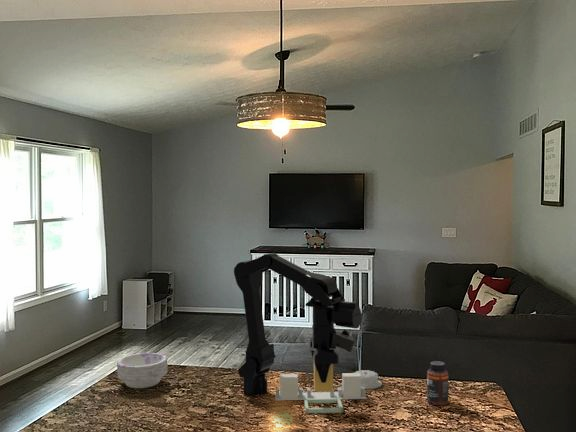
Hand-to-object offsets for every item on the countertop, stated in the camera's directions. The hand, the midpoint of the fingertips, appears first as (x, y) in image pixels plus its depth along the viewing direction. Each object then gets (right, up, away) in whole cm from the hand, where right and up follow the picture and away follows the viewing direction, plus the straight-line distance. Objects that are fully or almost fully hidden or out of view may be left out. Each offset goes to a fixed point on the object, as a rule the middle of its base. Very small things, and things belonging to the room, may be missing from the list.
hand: (323, 380), depth 160 cm
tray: (0, -8, 0) cm, 8 cm away
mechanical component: (+14, -8, +20) cm, 26 cm away
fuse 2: (+9, -7, +10) cm, 15 cm away
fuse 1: (-9, -7, +9) cm, 15 cm away
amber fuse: (0, -3, 0) cm, 3 cm away
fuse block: (0, -8, +9) cm, 12 cm away
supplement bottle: (+33, -8, +7) cm, 35 cm away
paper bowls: (-55, -8, +23) cm, 60 cm away
